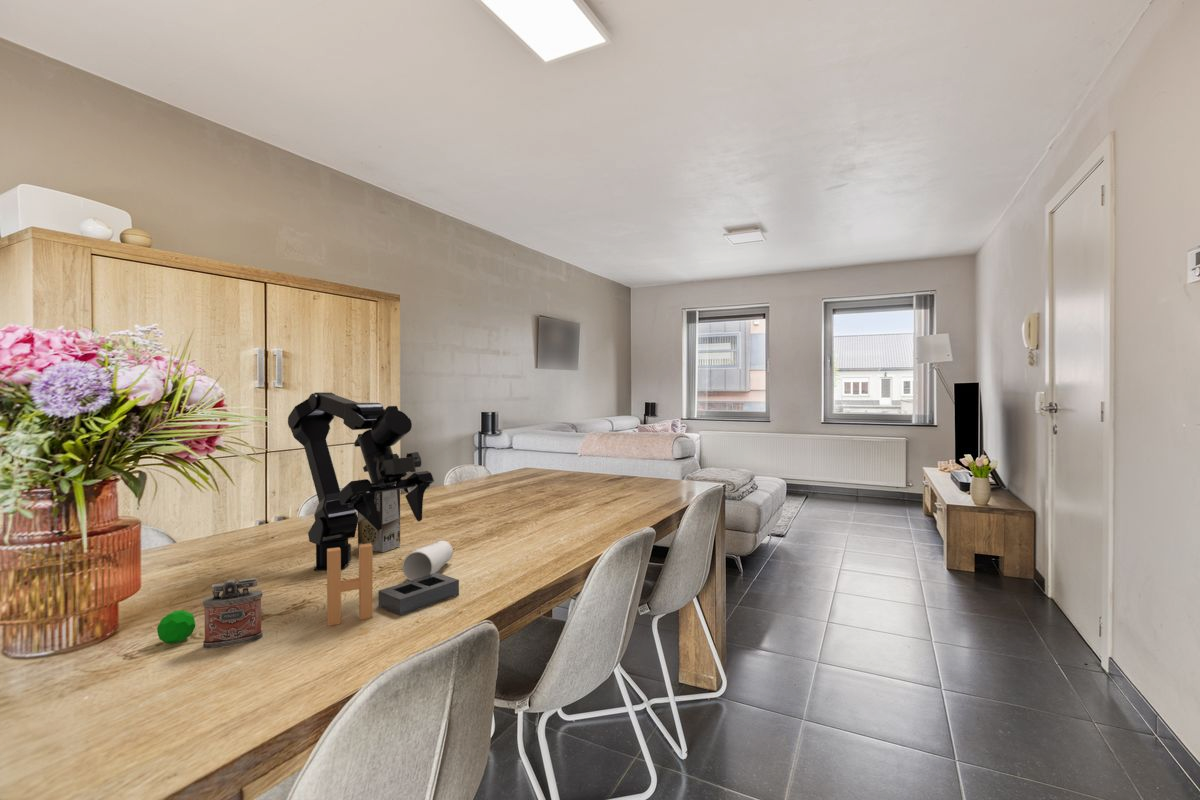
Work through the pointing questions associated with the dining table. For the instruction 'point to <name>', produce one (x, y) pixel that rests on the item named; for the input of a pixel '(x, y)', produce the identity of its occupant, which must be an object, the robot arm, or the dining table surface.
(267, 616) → the dining table surface
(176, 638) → the polyhedron
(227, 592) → the lighter
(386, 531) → the coffee box
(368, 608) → the orange letter h block
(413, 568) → the drinking glass
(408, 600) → the grey slotted base block
